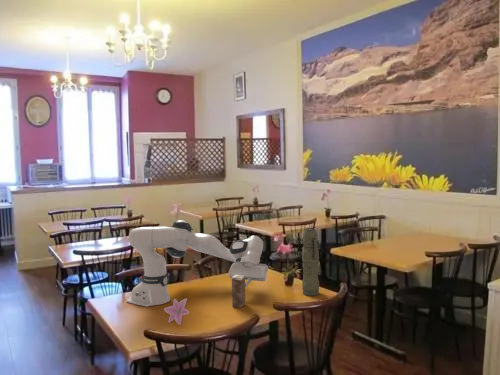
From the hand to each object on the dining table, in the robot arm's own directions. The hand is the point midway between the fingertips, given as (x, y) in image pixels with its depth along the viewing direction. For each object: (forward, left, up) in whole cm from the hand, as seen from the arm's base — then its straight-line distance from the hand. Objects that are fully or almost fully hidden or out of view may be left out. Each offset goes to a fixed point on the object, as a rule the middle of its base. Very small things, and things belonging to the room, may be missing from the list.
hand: (244, 286), depth 223 cm
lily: (-20, -34, -8) cm, 40 cm away
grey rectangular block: (0, -8, -8) cm, 11 cm away
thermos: (+30, +21, -8) cm, 38 cm away
